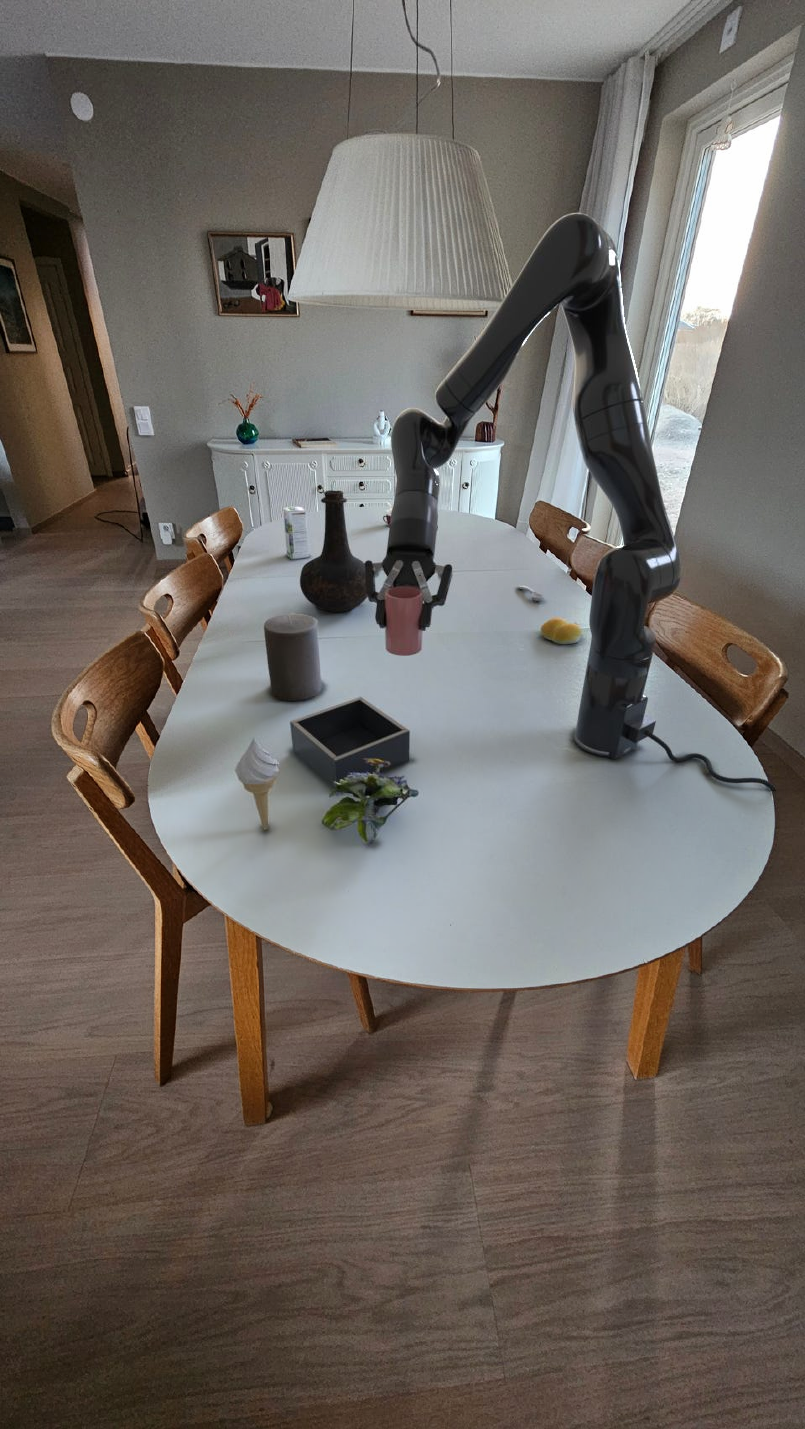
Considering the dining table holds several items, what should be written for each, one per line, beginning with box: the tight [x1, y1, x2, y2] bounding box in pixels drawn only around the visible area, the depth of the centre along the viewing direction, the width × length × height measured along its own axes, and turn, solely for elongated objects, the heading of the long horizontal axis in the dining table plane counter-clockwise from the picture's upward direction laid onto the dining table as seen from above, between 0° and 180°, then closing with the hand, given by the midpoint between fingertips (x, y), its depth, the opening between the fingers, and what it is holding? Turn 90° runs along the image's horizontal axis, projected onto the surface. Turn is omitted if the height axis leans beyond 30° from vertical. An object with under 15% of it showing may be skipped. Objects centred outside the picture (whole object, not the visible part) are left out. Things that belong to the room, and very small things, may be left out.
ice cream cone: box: [234, 737, 280, 831], centre depth 81 cm, size 6×6×15 cm
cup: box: [384, 586, 424, 657], centre depth 96 cm, size 6×6×9 cm
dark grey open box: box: [289, 696, 411, 790], centre depth 99 cm, size 14×14×6 cm
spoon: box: [517, 585, 545, 602], centre depth 164 cm, size 3×12×2 cm, turn 16°
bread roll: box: [540, 617, 583, 645], centre depth 140 cm, size 8×9×4 cm
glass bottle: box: [299, 489, 368, 613], centre depth 151 cm, size 18×18×28 cm
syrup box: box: [282, 506, 310, 560], centre depth 191 cm, size 6×6×14 cm
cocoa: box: [382, 506, 393, 526], centre depth 225 cm, size 10×6×12 cm, turn 91°
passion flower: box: [321, 758, 420, 845], centre depth 84 cm, size 11×11×12 cm
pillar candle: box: [263, 612, 322, 702], centre depth 116 cm, size 10×10×15 cm
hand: (402, 627), depth 94 cm, fingers closed on cup, 5 cm apart
